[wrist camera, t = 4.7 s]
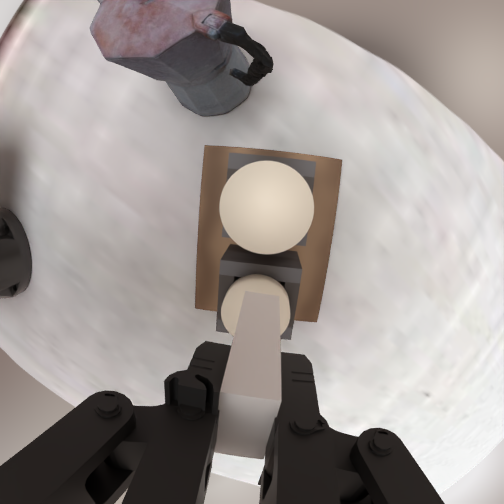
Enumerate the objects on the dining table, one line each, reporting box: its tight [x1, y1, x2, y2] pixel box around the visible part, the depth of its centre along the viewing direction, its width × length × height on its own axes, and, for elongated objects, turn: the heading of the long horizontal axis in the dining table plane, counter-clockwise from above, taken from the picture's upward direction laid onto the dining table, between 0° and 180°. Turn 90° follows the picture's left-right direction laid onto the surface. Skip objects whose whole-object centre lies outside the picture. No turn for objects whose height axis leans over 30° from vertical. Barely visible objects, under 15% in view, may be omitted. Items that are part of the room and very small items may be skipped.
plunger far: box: [221, 274, 290, 337], centre depth 27 cm, size 6×6×8 cm
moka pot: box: [90, 0, 273, 116], centre depth 19 cm, size 10×15×20 cm, turn 58°
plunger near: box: [219, 161, 314, 254], centre depth 21 cm, size 6×6×8 cm
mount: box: [195, 145, 342, 340], centre depth 29 cm, size 14×18×8 cm
